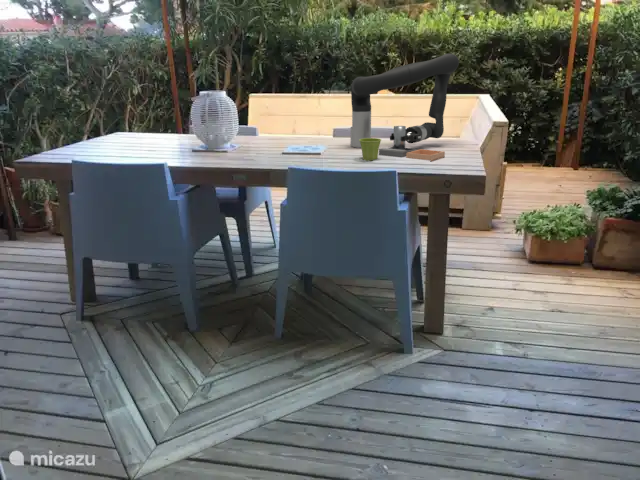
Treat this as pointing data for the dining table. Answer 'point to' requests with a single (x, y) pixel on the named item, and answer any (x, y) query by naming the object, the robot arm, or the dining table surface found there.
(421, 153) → the bin
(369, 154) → the plant pot
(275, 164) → the dining table surface
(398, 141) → the grey upright cylinder
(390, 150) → the bin
